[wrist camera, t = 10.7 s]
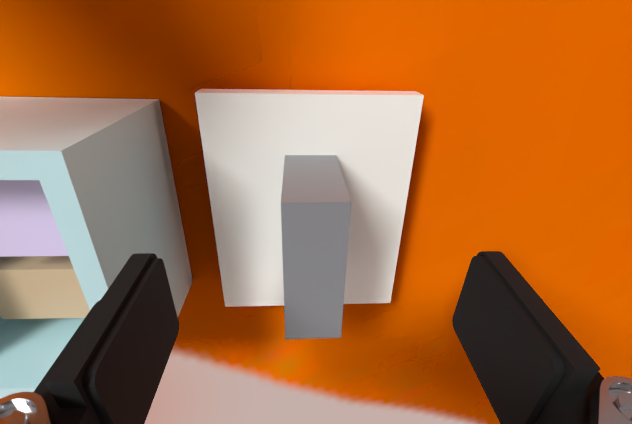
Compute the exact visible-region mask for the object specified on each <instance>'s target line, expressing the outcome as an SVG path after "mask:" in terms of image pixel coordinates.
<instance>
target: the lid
mask: <svg viewBox="0 0 632 424" xmlns="http://www.w3.org/2000/svg"><path fill="white" fill-rule="evenodd" d="M195 98H196V105H197V112H198V120H199V127H200V134H201V141H202V148H203V155H204V162H205V169H206V176H207V183H208V190H209V197H210V204H211V211H212V218H213V225H214V232H215V239H216V246H217V253H218V260H219V267H220V274H221V281H222V288H223V295H224V302H225V307H236V306H280V305H284V316H285V339H313V338H341V331H342V318H343V305H344V304H367V303H390V302H391V295H392V289H393V283H394V277H395V271H396V265H397V258H398V252H399V246H400V240H401V234H402V228H403V221H404V215H405V209H406V203H407V197H408V191H409V184H410V178H411V172H412V166H413V160H414V153H415V147H416V141H417V135H418V129H419V123H420V116H421V110H422V104H423V98H424V95H422V94H420V93H418V92H417V91H351V90H266V89H200V90H198V91H197V92H195Z"/></svg>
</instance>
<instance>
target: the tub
mask: <svg viewBox="0 0 632 424" xmlns="http://www.w3.org/2000/svg"><path fill="white" fill-rule="evenodd" d="M137 253H154V254H156V256H157V258H161V259H162V260H163V262H164V265H165V269H166V273H167V277H168V281H169V285H170V289H171V293H172V297H173V301H174V305H175V309H176V313H177V317H178V316H179V314H180V311H181V309H182V306H183V304H184V301H185V299H186V296H187V294H188V292H189V289H190V287H191V284H192V282H193V279H192V274H191V268H190V263H189V257H188V252H187V247H186V241H185V236H184V231H183V225H182V220H181V214H180V209H179V204H178V198H177V193H176V188H175V182H174V177H173V171H172V166H171V161H170V155H169V150H168V145H167V139H166V134H165V128H164V123H163V118H162V112H161V107H160V102H159V99H118V98H57V97H0V399H1V398H3V397H6V396H8V395H10V394H14V393H19V392H34V390H35V389H36V388H37V386H38V385H39V383H40V382H41V380H42V379H43V378H44V376H45V375H46V373H47V372H48V370H49V369H50V368H51V366H52V365H53V363H54V362H55V360H56V359H57V357H58V356H59V355H60V353H61V352H62V350H63V349H64V347H65V346H66V345H67V343H68V342H69V340H70V339H71V337H72V336H73V334H74V333H75V332H76V330H77V329H78V327H79V326H80V324H81V323H82V322H83V320H84V319H85V317H86V316H87V314H88V313H89V312H90V310H91V309H92V307H93V306H94V305H95V304H96V303H97V302H98V301H100V300H101V299H102V297H103V296H104V294H105V293H106V291H107V290H108V289H109V287H110V286H111V284H112V283H113V281H114V280H115V278H116V277H117V275H118V274H119V273H120V271H121V270H122V268H123V267H124V265H125V264H126V262H127V261H128V259H129V258H130V256H131V255H132V254H137Z"/></svg>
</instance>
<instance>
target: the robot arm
mask: <svg viewBox="0 0 632 424" xmlns="http://www.w3.org/2000/svg"><path fill="white" fill-rule="evenodd" d="M453 327H454V330H455V332H456V334H457V336H458V338H459V340H460V342H461V344H462V346H463V348H464V350H465V352H466V354H467V356H468V358H469V360H470V363H471V365H472V367H473V369H474V371H475V373H476V375H477V377H478V379H479V381H480V383H481V385H482V387H483V389H484V391H485V393H486V395H487V397H488V399H489V401H490V403H491V405H492V407H493V409H494V411H495V413H496V415H497V417H498V419H499V421H500V424H632V380H631V379H629V378H625V377H619V376H613V377H607V378H606V379H604V378H603V377H602V376H601V374H600V373H599V372H598V371H599V370H600V367H599V366H598V365H597V364H596V363H595V362H594V360H593V359H592V358H591V357H590V356H589V355H588V353H587V352H586V351H585V350H584V349H583V347H582V346H581V345H580V344H579V343H578V342H577V340H576V339H575V338H574V337H573V336H572V334H571V333H570V332H569V331H568V330H567V329H566V327H565V326H564V325H563V324H562V323H561V322H560V320H559V319H558V318H557V317H556V316H555V314H554V313H553V312H552V311H551V310H550V309H549V307H548V306H547V305H546V304H545V303H544V301H543V300H542V299H541V298H540V297H539V296H538V294H537V293H536V292H535V291H534V290H533V288H532V287H531V286H530V285H529V284H528V283H527V281H526V280H525V279H524V278H523V277H522V276H521V274H520V273H519V272H518V271H517V270H516V268H515V267H514V266H513V265H512V264H511V263H510V261H509V260H508V259H507V258H506V257H505V255H504V254H503V253H501V252H499V251H485V252H479V253H478V254H477V256H474V257H473V258H472V260H471V263H470V266H469V269H468V272H467V275H466V278H465V281H464V284H463V288H462V291H461V294H460V297H459V300H458V303H457V306H456V309H455V312H454V315H453ZM178 330H179V321H178V317H177V313H176V309H175V305H174V301H173V297H172V293H171V289H170V285H169V281H168V277H167V273H166V269H165V265H164V262H163V260H162V259H161V258H157V256H156V254H154V253H137V254H132V255H131V256H130V258H129V259H128V261H127V262H126V264H125V265H124V267H123V268H122V270H121V271H120V273H119V274H118V275H117V277H116V278H115V280H114V281H113V283H112V284H111V286H110V287H109V289H108V290H107V291H106V293H105V294H104V296H103V297H102V299H101V300H100V301H98V302H97V303H96V304H95V305H94V306H93V307H92V309H91V310H90V312H89V313H88V314H87V316H86V317H85V319H84V320H83V322H82V323H81V324H80V326H79V327H78V329H77V330H76V332H75V333H74V334H73V336H72V337H71V339H70V340H69V342H68V343H67V345H66V346H65V347H64V349H63V350H62V352H61V353H60V355H59V356H58V357H57V359H56V360H55V362H54V363H53V365H52V366H51V368H50V369H49V370H48V372H47V373H46V375H45V376H44V378H43V379H42V380H41V382H40V383H39V385H38V386H37V388H36V389H35V390H34V392H19V393H14V394H10V395H8V396H6V397H3V398H1V399H0V424H144V423H145V420H146V417H147V415H148V412H149V409H150V407H151V404H152V401H153V399H154V396H155V393H156V391H157V388H158V385H159V382H160V380H161V377H162V374H163V372H164V369H165V366H166V364H167V361H168V359H169V356H170V353H171V351H172V348H173V345H174V343H175V340H176V337H177V334H178Z"/></svg>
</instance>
